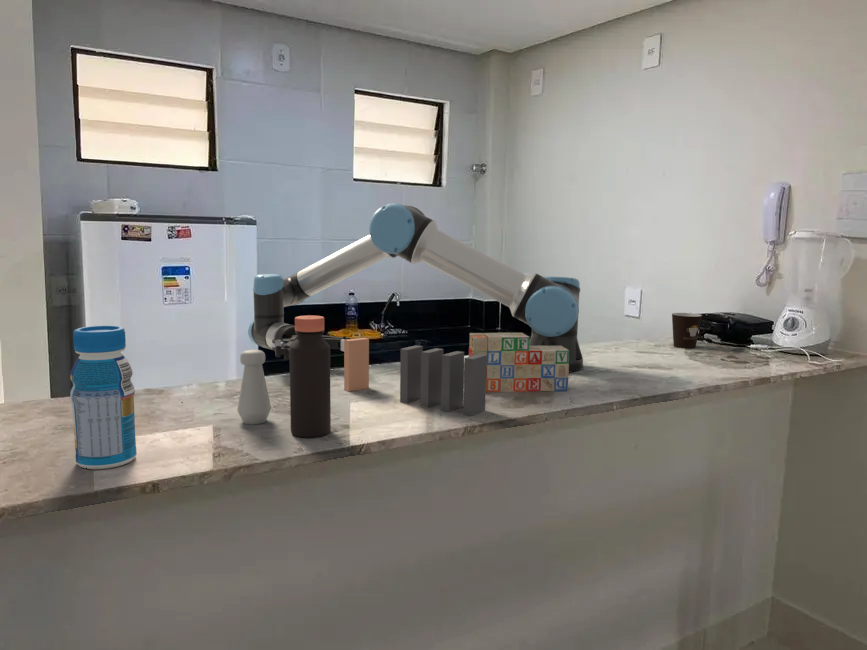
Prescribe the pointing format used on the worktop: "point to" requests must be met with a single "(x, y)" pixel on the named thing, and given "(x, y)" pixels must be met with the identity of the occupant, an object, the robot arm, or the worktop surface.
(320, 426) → the vinegar
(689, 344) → the coffee mug
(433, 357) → the domino
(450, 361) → the domino
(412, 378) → the domino
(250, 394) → the salt shaker
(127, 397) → the beverage bottle
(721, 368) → the worktop surface
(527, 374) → the stack of blocks
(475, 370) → the domino
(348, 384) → the orange domino
